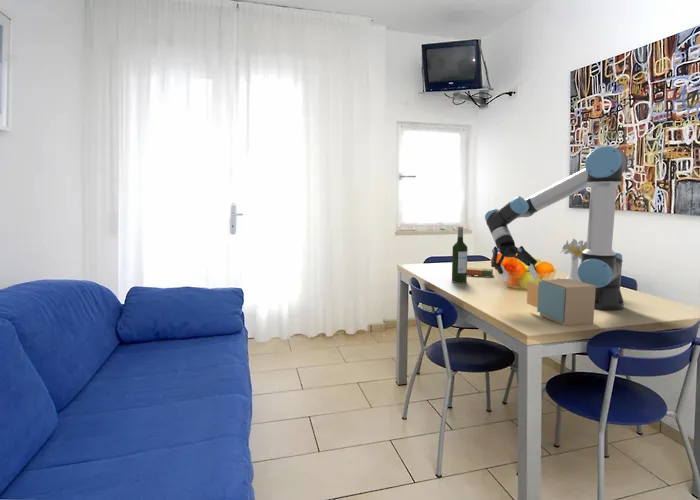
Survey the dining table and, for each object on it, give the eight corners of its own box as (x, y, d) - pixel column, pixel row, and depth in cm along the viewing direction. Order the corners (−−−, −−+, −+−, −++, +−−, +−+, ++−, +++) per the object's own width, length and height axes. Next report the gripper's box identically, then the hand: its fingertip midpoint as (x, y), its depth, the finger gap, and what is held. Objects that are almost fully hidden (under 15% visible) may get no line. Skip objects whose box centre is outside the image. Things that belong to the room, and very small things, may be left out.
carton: (465, 273, 258) (465, 266, 257) (492, 275, 252) (493, 268, 252) (463, 276, 250) (463, 269, 250) (492, 278, 244) (492, 270, 244)
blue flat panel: (528, 306, 173) (529, 277, 171) (563, 321, 153) (565, 288, 151) (526, 306, 173) (527, 277, 171) (561, 321, 152) (563, 288, 151)
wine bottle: (459, 279, 238) (460, 226, 234) (469, 282, 231) (471, 227, 227) (448, 281, 234) (449, 226, 230) (459, 283, 227) (460, 227, 223)
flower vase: (566, 294, 201) (569, 241, 198) (554, 286, 219) (557, 238, 216) (596, 295, 199) (599, 242, 196) (581, 286, 217) (584, 238, 214)
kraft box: (566, 313, 169) (568, 278, 167) (593, 323, 155) (595, 285, 153) (539, 314, 166) (541, 279, 165) (564, 325, 153) (566, 287, 151)
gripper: (525, 244, 193) (544, 282, 180) (474, 245, 189) (489, 285, 176) (532, 233, 187) (552, 272, 175) (480, 234, 183) (497, 275, 170)
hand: (521, 279), depth 175 cm, fingers open, 13 cm apart
